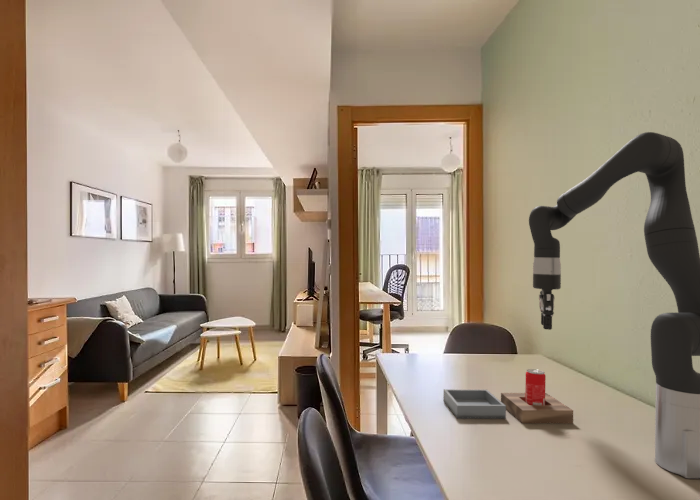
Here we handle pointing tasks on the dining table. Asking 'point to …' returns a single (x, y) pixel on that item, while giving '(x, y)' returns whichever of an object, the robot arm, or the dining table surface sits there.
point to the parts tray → (474, 404)
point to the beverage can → (535, 387)
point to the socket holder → (537, 409)
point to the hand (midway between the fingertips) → (546, 327)
